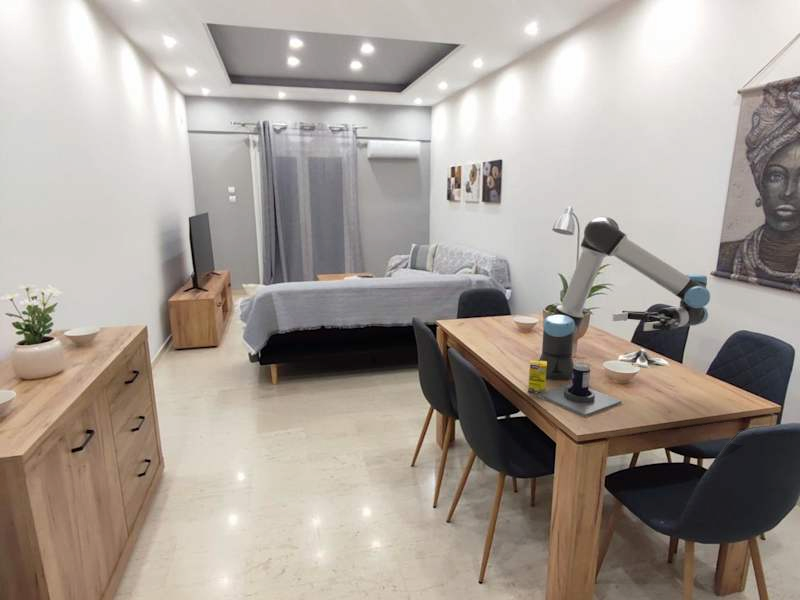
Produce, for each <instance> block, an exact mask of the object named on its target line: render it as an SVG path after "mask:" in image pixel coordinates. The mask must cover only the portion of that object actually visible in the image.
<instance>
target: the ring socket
mask: <svg viewBox="0 0 800 600" xmlns="http://www.w3.org/2000/svg"><path fill="white" fill-rule="evenodd" d="M571 385H572V382H571V383H568V384H565V385H561V386H558V387H555V388H552V389H548V390H545V392H541V393H537V397H538V396H540V397H539V398H541V397H542V398H541V399H543V398H544V399H543V400H545V399H546V400H545V401H547V400H548V402H550V401H551V402H550V403H552V402H553V403H552V404H554V403H555V405H556V404H557V406H559V407H561V408H563V407H564V409H566V410H568V411H570V412H572V411H573V412H572V413H574V412H575V414H577V415H580V416H581V415H582V416H581V417H583V416H584V417H583V418H587V417H589V416H592V415H594V414H597V412H598V413H600V412H602V411H605V410H609V409H611V408H613V407H617V406H618V405H621V404H622V403H623V401H622V400H620V399H618V398H615V397H612V396H610V395H607V394H605V393H603V392H600V391H598V390H595V389H591V388H589V389H588V396H582V397H581V396H576V395H573V394H571Z"/></svg>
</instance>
